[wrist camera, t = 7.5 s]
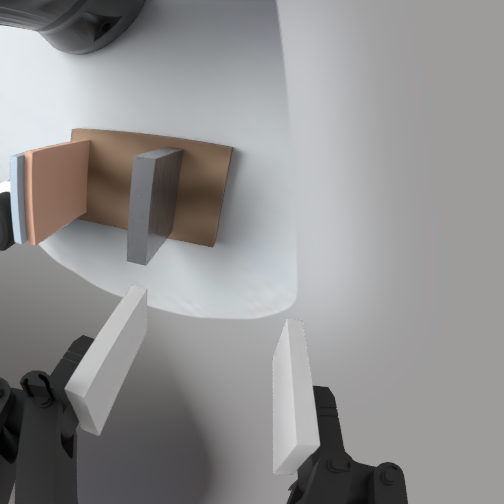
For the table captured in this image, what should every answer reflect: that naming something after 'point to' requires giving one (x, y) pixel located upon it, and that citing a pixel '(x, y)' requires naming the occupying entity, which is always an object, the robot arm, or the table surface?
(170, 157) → the bookend
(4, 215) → the container
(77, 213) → the books
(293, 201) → the table surface
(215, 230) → the shelf
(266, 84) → the table surface
